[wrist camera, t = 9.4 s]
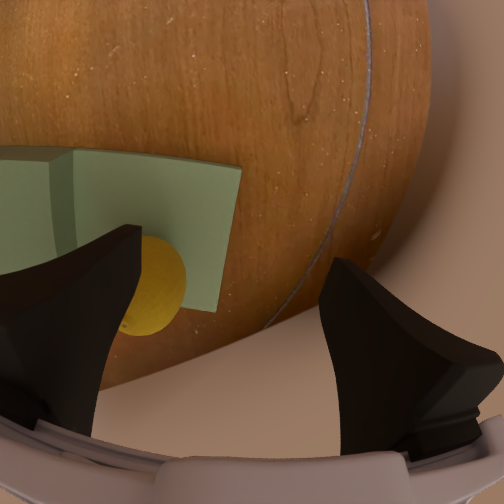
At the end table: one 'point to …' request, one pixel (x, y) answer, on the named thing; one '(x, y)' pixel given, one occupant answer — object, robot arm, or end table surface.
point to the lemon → (156, 289)
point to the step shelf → (117, 207)
